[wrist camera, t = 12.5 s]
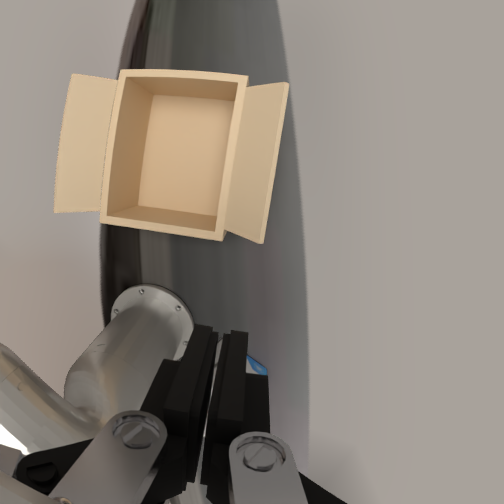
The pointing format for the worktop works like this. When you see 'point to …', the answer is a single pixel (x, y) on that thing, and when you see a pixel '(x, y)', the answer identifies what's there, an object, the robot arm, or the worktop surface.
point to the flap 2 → (256, 160)
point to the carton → (172, 151)
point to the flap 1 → (83, 143)
